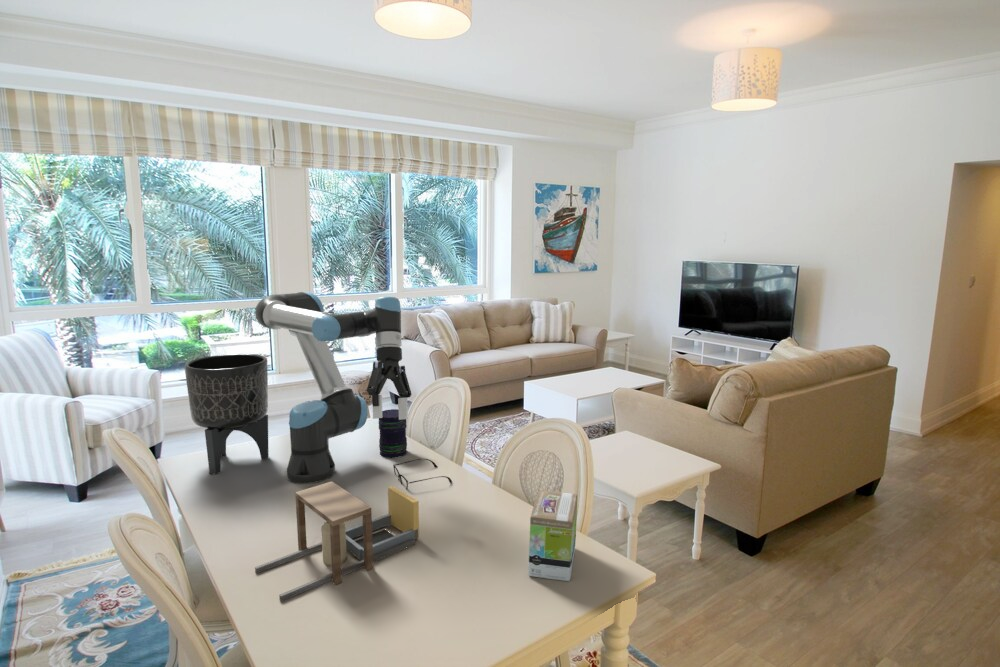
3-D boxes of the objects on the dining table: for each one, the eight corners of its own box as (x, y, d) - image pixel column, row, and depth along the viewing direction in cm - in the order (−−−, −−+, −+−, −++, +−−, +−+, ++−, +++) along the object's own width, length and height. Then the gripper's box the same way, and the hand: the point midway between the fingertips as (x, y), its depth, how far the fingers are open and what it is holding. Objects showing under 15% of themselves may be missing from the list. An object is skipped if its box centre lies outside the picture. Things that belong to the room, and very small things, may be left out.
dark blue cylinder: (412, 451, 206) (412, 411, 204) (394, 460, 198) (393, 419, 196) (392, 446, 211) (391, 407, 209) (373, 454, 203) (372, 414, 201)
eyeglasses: (391, 474, 187) (390, 463, 186) (436, 466, 194) (435, 455, 193) (406, 494, 173) (406, 481, 172) (454, 484, 180) (454, 472, 179)
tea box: (571, 582, 128) (573, 521, 125) (527, 577, 130) (528, 516, 127) (576, 547, 142) (577, 492, 140) (536, 543, 144) (537, 488, 142)
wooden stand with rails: (251, 567, 133) (247, 506, 130) (379, 520, 155) (377, 467, 153) (285, 606, 118) (281, 539, 116) (420, 548, 141) (419, 490, 139)
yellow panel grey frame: (338, 541, 143) (336, 504, 142) (393, 520, 154) (392, 486, 153) (362, 561, 135) (360, 521, 133) (419, 537, 145) (418, 500, 144)
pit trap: (346, 543, 143) (345, 542, 143) (385, 528, 151) (385, 527, 151) (365, 558, 136) (365, 558, 136) (406, 542, 144) (406, 541, 144)
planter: (180, 462, 195) (171, 361, 189) (251, 443, 213) (245, 350, 208) (212, 483, 179) (204, 373, 173) (286, 460, 198) (281, 360, 192)
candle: (339, 550, 140) (337, 512, 139) (351, 559, 136) (349, 520, 135) (318, 559, 136) (316, 520, 135) (329, 568, 132) (328, 528, 131)
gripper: (375, 340, 158) (377, 416, 154) (420, 351, 181) (423, 418, 177) (353, 343, 161) (354, 418, 157) (400, 354, 184) (402, 420, 180)
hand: (390, 418), depth 167 cm, fingers open, 13 cm apart
